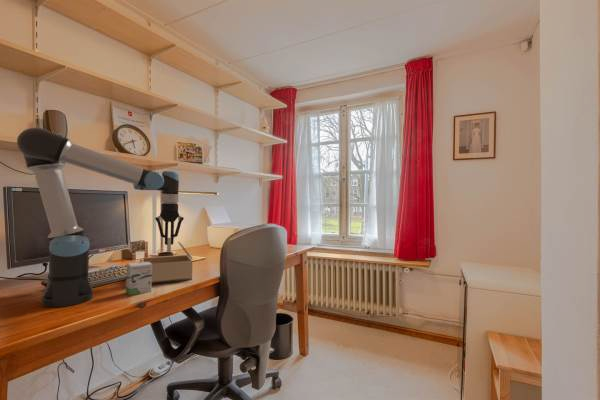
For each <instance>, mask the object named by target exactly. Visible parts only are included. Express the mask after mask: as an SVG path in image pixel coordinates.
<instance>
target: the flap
mask: <svg viewBox="0 0 600 400" xmlns="http://www.w3.org/2000/svg"><path fill="white" fill-rule="evenodd" d="M177 243H178V245H179V246H180V247H181V248H182V250H183V251H184V252H185V253H186V254H185V255H188V256H189V258H190V259H191V260H193V257H192V256H191V254H190V253H189V251H187V249H186V248H185V247H184V246H183V244H182V243H181V242H180V241H178V242H177Z"/></svg>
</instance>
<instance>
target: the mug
mask: <svg viewBox="0 0 600 400" xmlns="http://www.w3.org/2000/svg"><path fill="white" fill-rule="evenodd" d="M160 256H175V254H174V253H173V252H172V251H171V252H167V251H161V252H158V253H157V257H160Z"/></svg>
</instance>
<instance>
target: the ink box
mask: <svg viewBox="0 0 600 400" xmlns="http://www.w3.org/2000/svg"><path fill="white" fill-rule="evenodd" d="M125 277H126V278H125V281H126V283H125V293H126V295H127V296H133V295H138V294H144V293H145V294H146V293H149V292H152V285H153V284H152V264H151V263H150V262H140V261H139V262H132V263H131V262H130V263H127V264H126V276H125Z"/></svg>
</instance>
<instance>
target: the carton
mask: <svg viewBox="0 0 600 400" xmlns="http://www.w3.org/2000/svg"><path fill="white" fill-rule="evenodd" d="M140 262H150V263H151V264H152V285H153V284H163V283H173V282H182V281H191V280H193V259H191V258H190V257H189V256H188V255H187V254H178V255H177V254H176V255H174V256H160V257H158V256H148V257H147V256H146V257H142V258H140V261H139V263H140Z"/></svg>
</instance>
